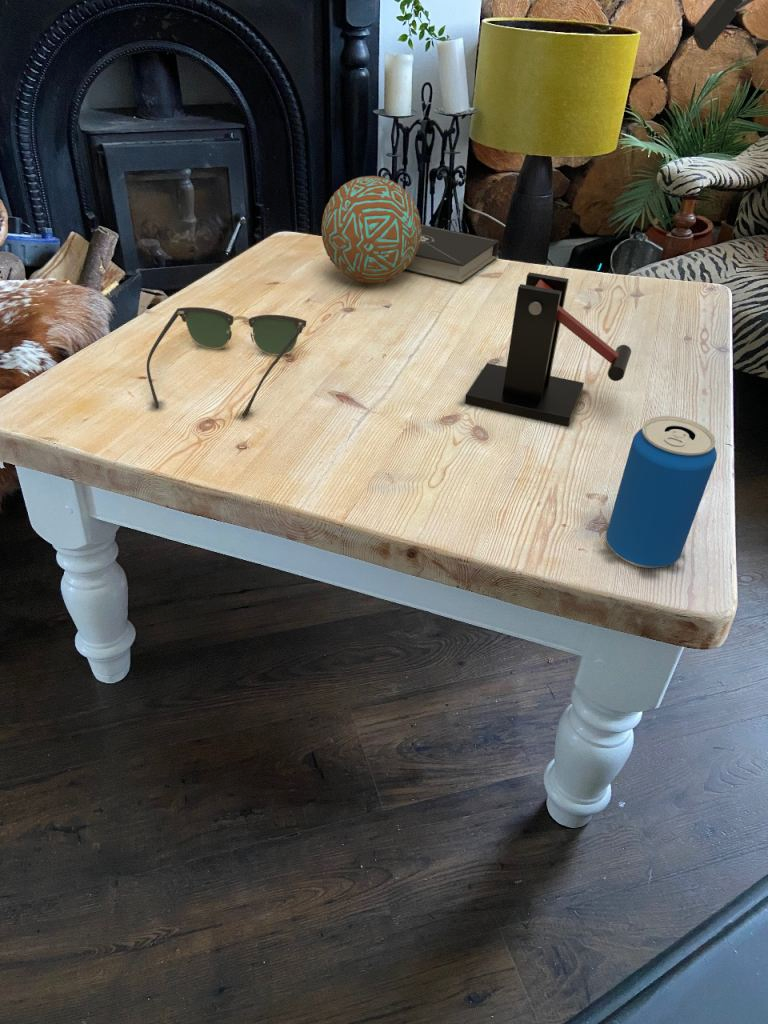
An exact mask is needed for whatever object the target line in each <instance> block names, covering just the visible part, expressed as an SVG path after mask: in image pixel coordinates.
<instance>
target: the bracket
mask: <svg viewBox="0 0 768 1024" xmlns="http://www.w3.org/2000/svg"><path fill="white" fill-rule="evenodd" d="M540 279H541V280H542V281H543V282H544V283H546V284H547V285H548V286H549V287H550V288H552V289H553V290H552V289H547V288H541V287H535V285H536V284H537V283H538V281H539V280H540ZM569 280H570V279H569V278H566V277H561V276H554V275H548V274H543V273H538V272H537V273H536V272H532V271H531V272H530V271H529V272H528V273H527V275H526V279H525V284H524V283H520V284H519V285H518V287H517V293H516V301H515V307H514V313H513V320H512V328H511V334H510V341H509V348H508V353H507V354H508V355H507V361H506V366H505V365H499V364H494V363H489V362H486V364H485V365H484V366H483V368H482V370H481V371H480V373H479V374H478V376H476V379H475V380H474V382H473V383H472V385H471V386H470V388H469V389H468V390H467V392H466V394H465V398H464V399H465V400H464V404H465V405H469V406H473V407H479V408H483V409H487V410H491V411H496V412H500V413H505V414H509V415H515V416H519V417H523V418H526V419H527V418H528V419H533V420H536V421H542V422H546V423H550V424H555V425H560V426H564V427H569V425H570V423H571V420H572V418H573V416H574V413H575V410H576V408H577V405H578V403H579V400H580V398H581V396H582V392H583V389H584V386H585V385H584V384H585V383H584V382H582V381H578V380H573V379H568V378H564V377H559V376H553V375H552V369H553V365H554V358H555V354H556V350H557V345H558V338H559V334H560V333H559V332H560V329H561V323H560V322H559V321H558V320H557V314H558V309H559V306H560V307H562V308H563V309H564V306H565V301H566V296H567V291H568V286H569Z"/></svg>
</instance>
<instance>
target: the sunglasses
mask: <svg viewBox="0 0 768 1024" xmlns="http://www.w3.org/2000/svg"><path fill="white" fill-rule="evenodd" d="M178 317H180V318H181V320H182V322H183V323H185V325H186V328H187V331H188V334H189V336H190V338H191V339H192V340H193V342H195V343H196V344H197V345H199V346H201V347H203V348H207V349H212V350H214V349H215V350H217V349H219V350H220V349H223V348H224V347H225V346H227V344H228V343H229V341H230V340H231V339H232V336H233V332H232V328H231V327H232V326H233V324H234V322H235V321H241V320H242V321H245V322H247V323H248V324H249V327H250V328H251V329H252V332H250V338H251V341H252V343H253V344H254V343H255V345H256V346H257V348H258V349H259V350H260V351H261V352H263V353H265V354H268V355H273V356H277V357H276V358H275V359H274V360H273V362H272V363H271V364H270V365H269V367H268V368H267V370H266V371H265V372H264V374H263V376H262V378H261V379H260V381H259V383H258V385H257V387H256V388H255V390H254V392H253V394H252V396H251V397H250V399H249V402H248V403H247V405H246V407H245V408H244V410H243V412H242V414H241V417H245V416H246V415H248V414H249V412H250V411H251V408H252V405H253V403H254V400H255V398H256V396H257V394H258V392H259V390H260V389H261V386H262V384H263V383H264V381H265V379H266V378H267V376H268V375H269V374H270V373H271V371H272V369H273V368H274V367H275V365H276V364H277V363H278V362H279V361H280V359H281V358H282V357H283V356H284V355H287V354H289V353H291V352H292V351H293V350H294V349H295V347H296V344H297V342H298V337H299V336H300V334H301V333H303V330H304V329H305V328H306V326H307V320H306V319H302V318H299V317H294V316H290V315H289V316H288V315H284V314H283V315H281V314H261V315H256V316H252V317H250V318H248V317H247V316H243V315H238V316H237V315H236V316H234V315H232V314H230V313H227V312H226V311H222V310H220V309H214V308H208V307H198V306H191V307H190V306H188V307H187V306H186V307H178V308H176V310H175V311H174V313H173V314H172V316H171V317H170V318H169V320H168V321H167V323H166V325H165V326H164V328H163V329H162V331H161V332H160V333H159V336H158V337H157V339H156V340H155V342H154V344H153V346H152V347H151V349H150V351H149V354H148V357H147V359H146V375H147V380H148V383H149V387H150V390H151V391H150V392H151V395H152V398H153V403H154V405H155V407H156V408H159V406H160V404H159V403H160V402H159V401H158V397H157V394H156V391H155V387H154V383H153V380H152V376H151V370H150V364H151V360H152V357H153V355H154V353H155V351H156V349H157V348H158V346H159V344H160V343H161V341H162V339H164V337H165V335H166V334H167V333H168V331H169V330H170V328H171V327H172V325H173V324H174V323H175V322H176V320H177V319H178Z"/></svg>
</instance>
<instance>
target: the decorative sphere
mask: <svg viewBox="0 0 768 1024" xmlns="http://www.w3.org/2000/svg"><path fill="white" fill-rule="evenodd" d="M421 221H422V220H421V216H420V212H419V209H418V207H417V205H416V202H415V201H414V199H413V198H412V197H411V195H410V194H409V192H408V191H406V190H405V188H403V187H402V185H399V184H398V183H397V182H395V181H393V180H392V179H389V178H386V177H382V176H378V175H365V176H359V177H356V178H352V179H351V180H349V181H347V182H345V183H344V184H343V185H341V186H340V187H339V189H337V190H336V191H334V193H333V195H332V196H331V197H330V198H329V201H328V202H327V204H326V205H325V208H324V211H323V215H322V221H321V240H322V244H323V247H324V250H325V253H326V255H327V257H329V260H330V261H331V263H332V264H333V265H334V267H335V268H336V269H337V270H339V272H341V273H342V274H344V275H345V276H347V277H349V279H352V280H355V281H357V282H361V283H366V284H376V283H382V282H385V281H388V280H390V279H391V280H392V279H394V278H395V277H397V276H399V275H400V274H401V273H402V272H404V270H405V269H406V268H407V267H408V265H409V264H410V263H411V261H412V260H413V258H414V257H415V255H416V253H417V250H418V247H419V244H420V238H421V224H422V222H421Z"/></svg>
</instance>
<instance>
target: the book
mask: <svg viewBox="0 0 768 1024" xmlns="http://www.w3.org/2000/svg"><path fill="white" fill-rule="evenodd" d="M499 246H500V240H499V239H495V238H489V237H484V236H481V235H476V234H470V233H465V232H461V231H455V230H450V229H445V228H441V227H436V226H432V225H427V224H422V223H421V238H420V244H419V247H418V250H417V253H416V255H415V257H414V258H413V260H412V261H411V263H410V264H409V265H408V267H407V268H406V269H405V270H403V272H404V271H405V272H409V273H413V274H417V275H422V276H425V277H431V278H435V279H439V280H444V281H448V282H450V283H451V282H452V283H455V284H460V285H461V284H463V283H464V282H466V281H467V280H468V279H470V278H471V277H473V276H474V275H475V274H477V273H478V272H479V271H482V269H484V268H485V267H487V266H488V265H489V264H491V263H492V262H493V261H495V260H496V259H497V258H498V254H499Z"/></svg>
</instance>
